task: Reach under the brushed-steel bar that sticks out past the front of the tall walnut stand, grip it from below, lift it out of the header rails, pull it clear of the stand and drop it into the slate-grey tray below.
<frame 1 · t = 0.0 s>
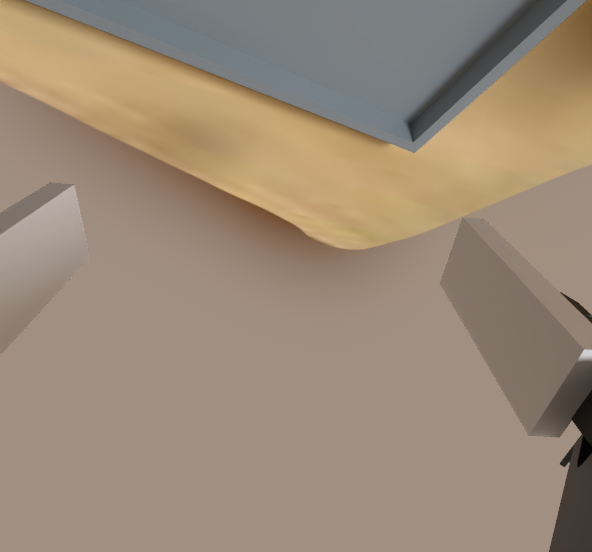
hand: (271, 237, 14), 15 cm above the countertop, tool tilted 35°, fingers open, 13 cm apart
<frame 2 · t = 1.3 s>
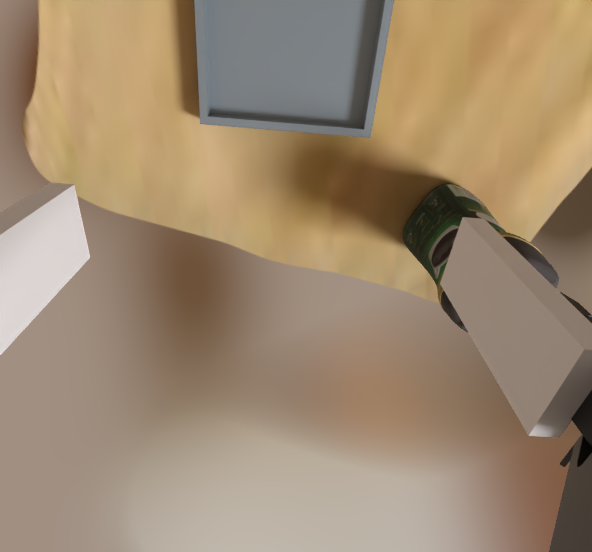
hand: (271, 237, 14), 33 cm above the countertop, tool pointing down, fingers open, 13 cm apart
coffee jar: (439, 219, 49), on the countertop
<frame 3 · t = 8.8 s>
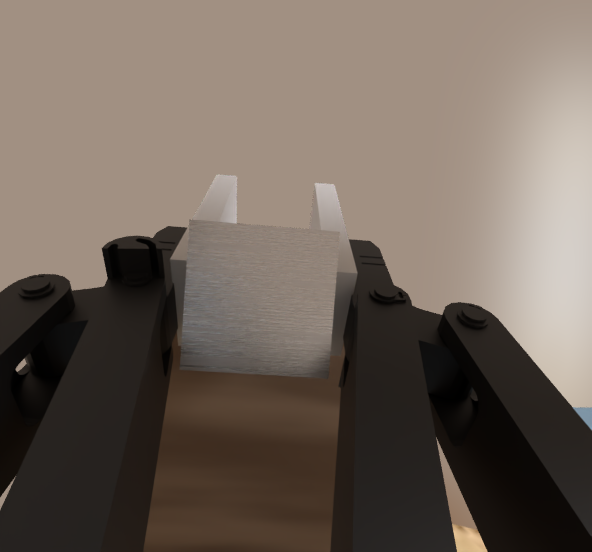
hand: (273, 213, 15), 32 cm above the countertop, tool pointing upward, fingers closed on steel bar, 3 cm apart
steel bar: (267, 311, 18), point 28 cm above the countertop, touching gripper, walnut stand
when the fingers open (25 cm above the countertop, at t = 16.2 s): steel bar drops 21 cm, resting on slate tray.
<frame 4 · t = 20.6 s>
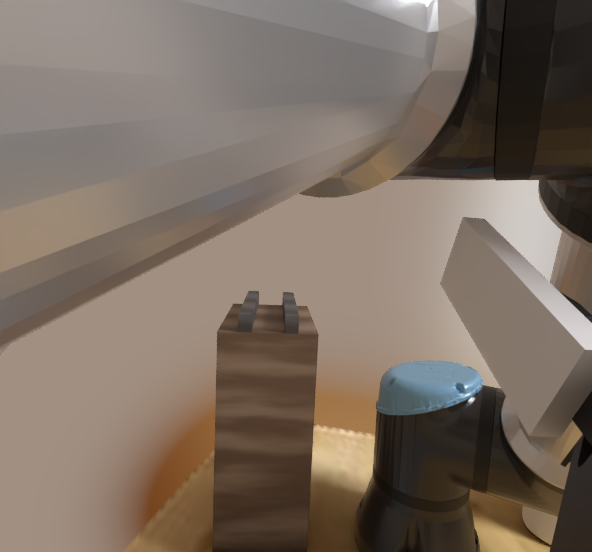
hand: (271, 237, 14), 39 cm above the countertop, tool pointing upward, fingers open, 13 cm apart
walnut stand: (262, 515, 53), on the countertop
pill bottle: (554, 531, 53), on the countertop
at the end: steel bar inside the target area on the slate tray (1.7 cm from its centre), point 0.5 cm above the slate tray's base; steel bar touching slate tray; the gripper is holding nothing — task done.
